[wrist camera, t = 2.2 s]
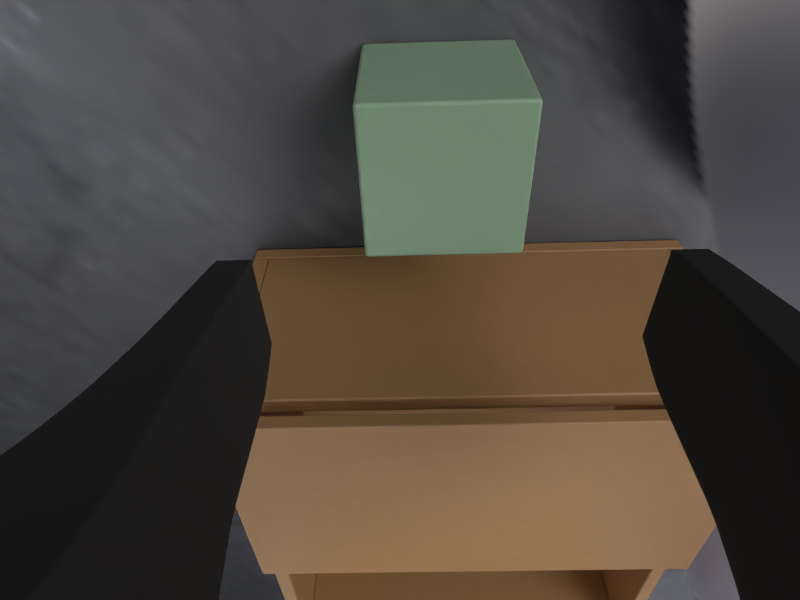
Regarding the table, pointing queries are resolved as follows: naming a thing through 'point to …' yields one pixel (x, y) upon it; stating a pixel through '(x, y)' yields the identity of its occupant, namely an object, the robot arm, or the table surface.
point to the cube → (445, 147)
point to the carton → (467, 427)
